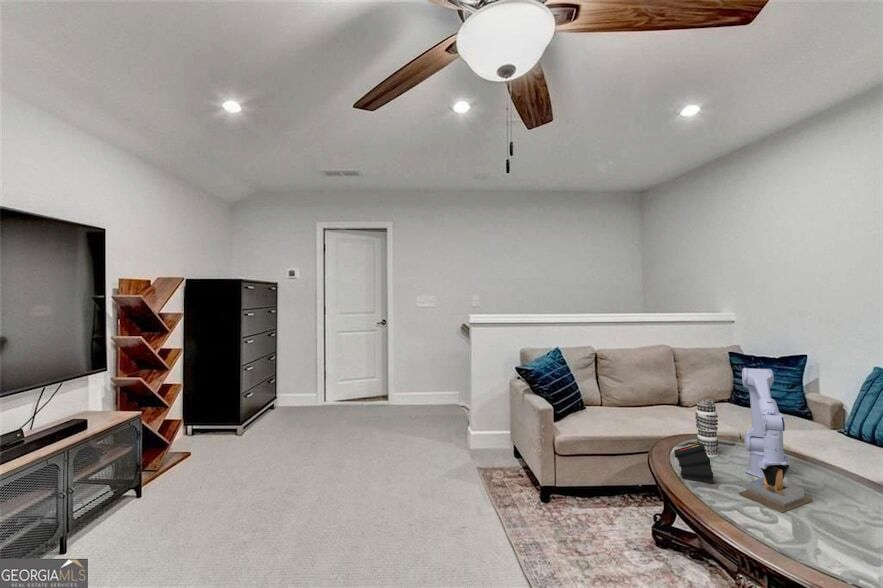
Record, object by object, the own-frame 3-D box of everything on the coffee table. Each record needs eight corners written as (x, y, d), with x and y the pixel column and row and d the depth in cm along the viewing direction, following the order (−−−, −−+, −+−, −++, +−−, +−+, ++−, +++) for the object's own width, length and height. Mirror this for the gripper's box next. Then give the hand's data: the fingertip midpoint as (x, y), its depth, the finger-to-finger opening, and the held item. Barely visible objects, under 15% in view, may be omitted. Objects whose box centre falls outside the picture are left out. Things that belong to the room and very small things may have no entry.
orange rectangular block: (771, 487, 155) (770, 465, 155) (783, 491, 151) (782, 469, 151) (764, 489, 153) (763, 467, 153) (776, 494, 149) (775, 472, 149)
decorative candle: (721, 452, 194) (719, 400, 194) (717, 459, 187) (715, 404, 187) (698, 448, 200) (697, 397, 200) (694, 454, 193) (692, 401, 193)
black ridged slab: (722, 482, 162) (702, 445, 165) (688, 489, 168) (668, 454, 171) (722, 478, 165) (701, 442, 168) (688, 486, 171) (669, 451, 175)
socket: (769, 485, 161) (768, 473, 161) (812, 501, 148) (812, 488, 148) (739, 495, 155) (739, 483, 155) (782, 512, 142) (781, 499, 142)
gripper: (773, 454, 145) (774, 492, 145) (797, 447, 151) (799, 484, 151) (752, 447, 152) (753, 484, 152) (776, 441, 157) (777, 476, 157)
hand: (774, 484), depth 152 cm, fingers closed on orange rectangular block, 4 cm apart
